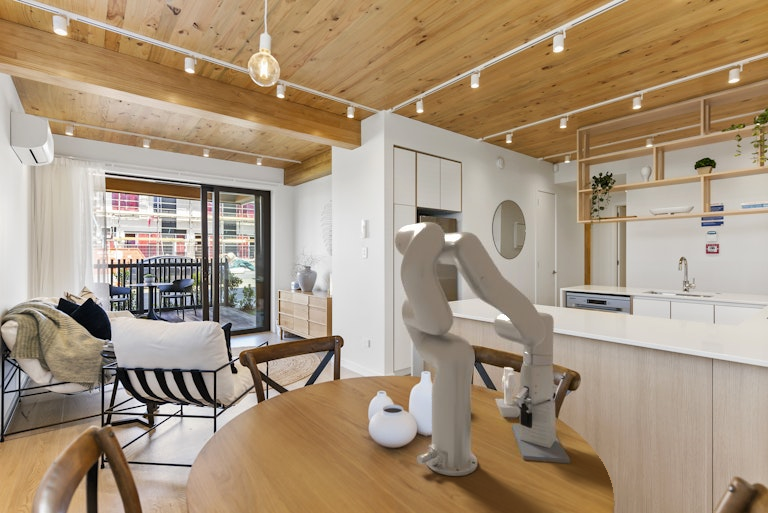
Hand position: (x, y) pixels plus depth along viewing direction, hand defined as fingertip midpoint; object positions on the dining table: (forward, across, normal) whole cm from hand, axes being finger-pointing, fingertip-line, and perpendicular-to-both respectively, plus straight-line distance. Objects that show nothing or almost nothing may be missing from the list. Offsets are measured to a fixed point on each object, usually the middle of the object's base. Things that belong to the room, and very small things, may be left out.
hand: (536, 421), depth 106 cm
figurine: (+6, -10, -17) cm, 21 cm away
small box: (+5, 0, 0) cm, 5 cm away
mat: (+6, 0, 0) cm, 6 cm away
